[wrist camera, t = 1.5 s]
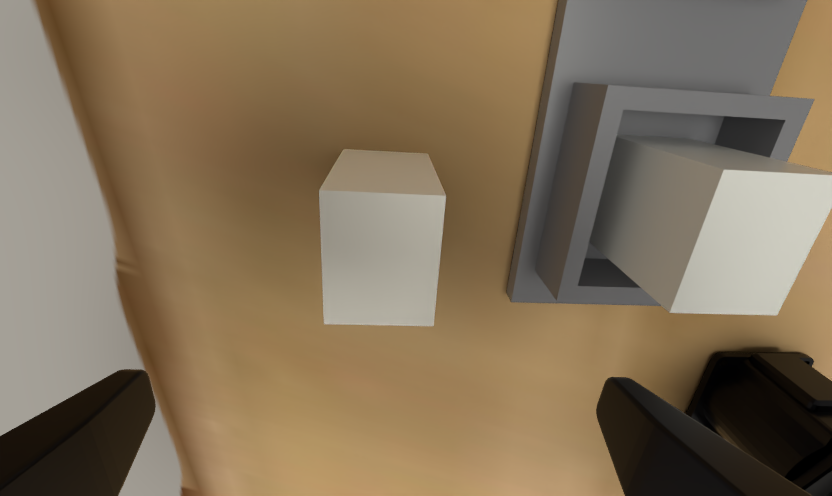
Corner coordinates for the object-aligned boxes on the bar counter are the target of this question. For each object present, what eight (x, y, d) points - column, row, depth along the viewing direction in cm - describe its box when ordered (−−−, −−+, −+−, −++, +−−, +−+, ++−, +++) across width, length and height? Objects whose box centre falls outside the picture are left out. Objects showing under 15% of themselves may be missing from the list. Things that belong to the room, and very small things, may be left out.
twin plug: (657, 238, 21) (776, 315, 14) (581, 235, 20) (669, 312, 14) (690, 138, 18) (848, 175, 12) (607, 133, 18) (723, 169, 12)
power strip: (674, 297, 23) (727, 339, 20) (506, 292, 23) (528, 336, 19) (940, -408, 13) (1160, -598, 9) (640, -461, 12) (749, -692, 8)
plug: (420, 248, 21) (433, 326, 15) (344, 245, 21) (324, 324, 15) (427, 153, 19) (446, 195, 13) (343, 148, 19) (319, 189, 12)
